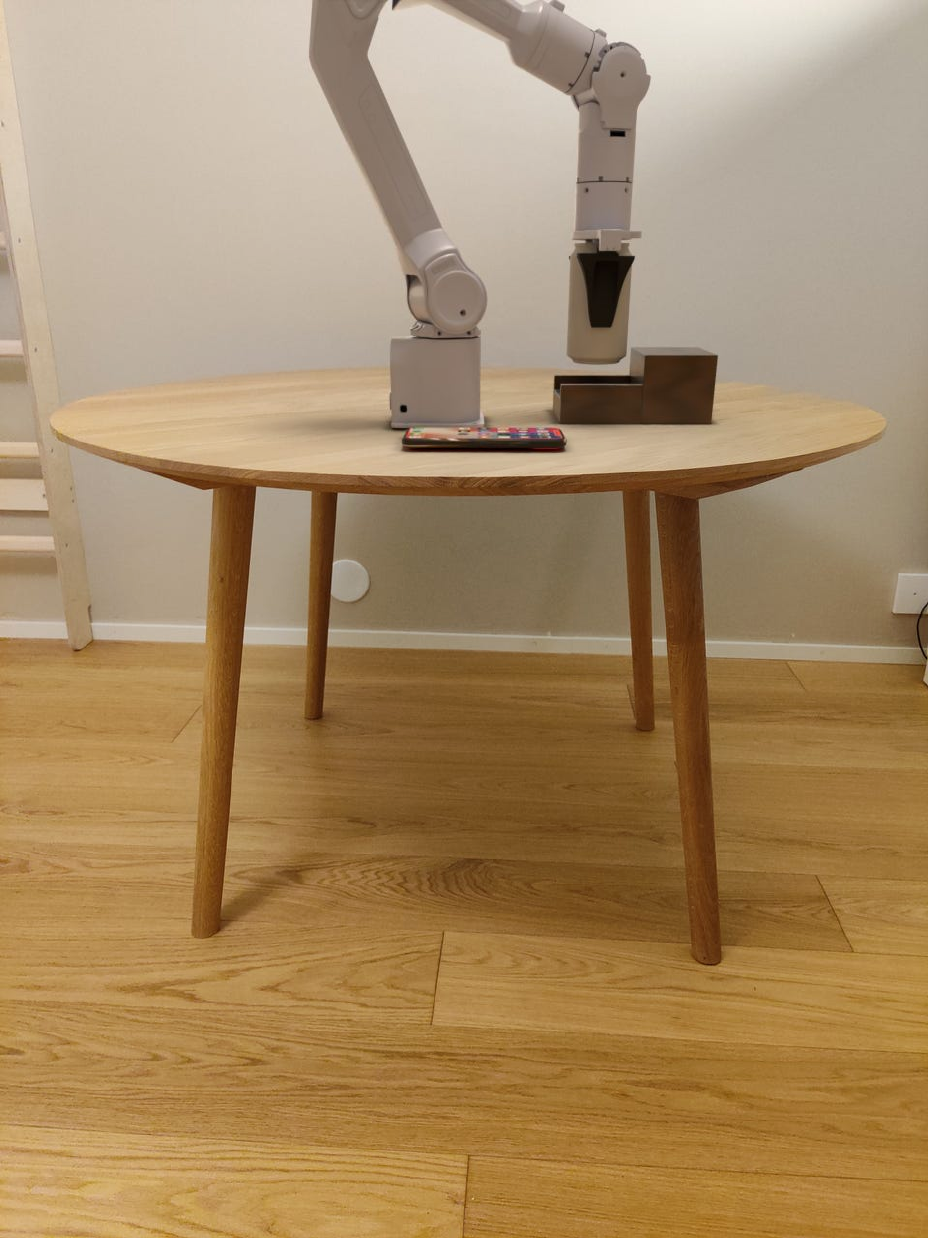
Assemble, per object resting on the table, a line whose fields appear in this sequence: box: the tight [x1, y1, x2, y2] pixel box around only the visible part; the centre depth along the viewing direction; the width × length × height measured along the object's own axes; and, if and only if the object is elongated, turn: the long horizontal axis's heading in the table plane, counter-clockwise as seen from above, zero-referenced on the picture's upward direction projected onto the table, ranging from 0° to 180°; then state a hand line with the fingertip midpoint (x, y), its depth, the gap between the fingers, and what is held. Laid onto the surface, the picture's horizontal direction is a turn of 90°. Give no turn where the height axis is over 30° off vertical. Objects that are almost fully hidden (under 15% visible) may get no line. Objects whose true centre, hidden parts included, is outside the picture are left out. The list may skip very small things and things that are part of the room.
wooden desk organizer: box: [552, 346, 719, 425], centre depth 100 cm, size 16×9×7 cm, turn 90°
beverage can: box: [566, 242, 633, 366], centre depth 97 cm, size 6×6×12 cm
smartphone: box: [401, 426, 567, 450], centre depth 86 cm, size 7×1×15 cm
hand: (596, 325), depth 98 cm, fingers closed on beverage can, 6 cm apart
